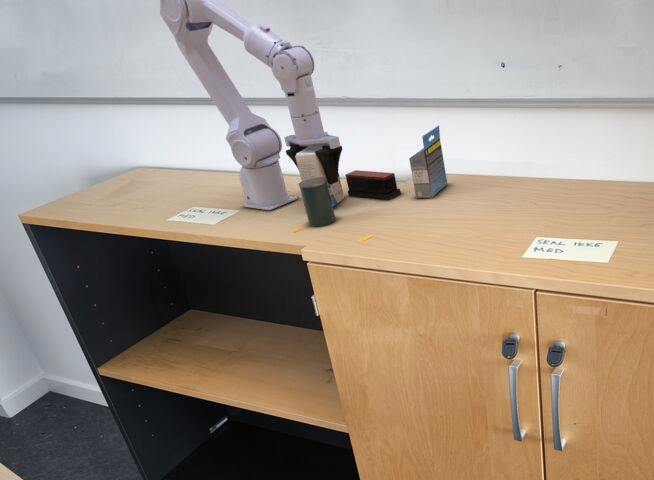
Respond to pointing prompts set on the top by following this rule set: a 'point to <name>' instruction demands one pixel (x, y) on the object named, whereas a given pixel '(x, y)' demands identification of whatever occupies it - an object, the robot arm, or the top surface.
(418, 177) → the blue grey hanging carton
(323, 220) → the pen tin
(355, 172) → the black and red block
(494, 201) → the top surface
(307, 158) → the ink box
